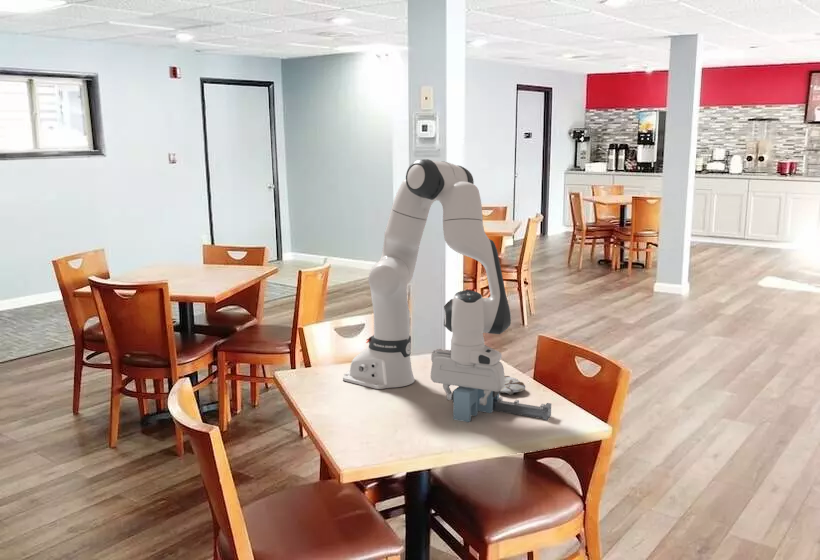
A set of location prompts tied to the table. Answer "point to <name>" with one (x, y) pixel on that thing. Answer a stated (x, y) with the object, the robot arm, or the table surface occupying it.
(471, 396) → the light blue block
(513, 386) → the stone
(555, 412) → the table surface
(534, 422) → the table surface
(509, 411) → the rail
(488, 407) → the light blue rectangular block
